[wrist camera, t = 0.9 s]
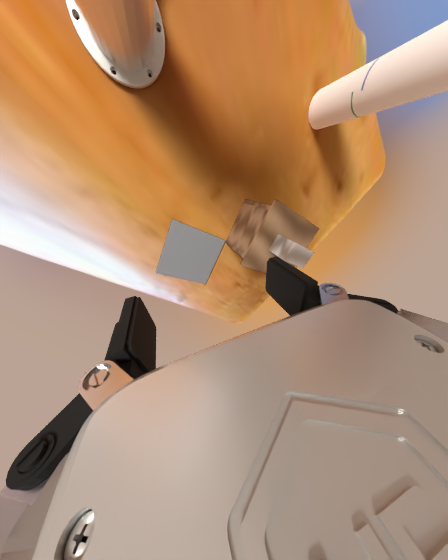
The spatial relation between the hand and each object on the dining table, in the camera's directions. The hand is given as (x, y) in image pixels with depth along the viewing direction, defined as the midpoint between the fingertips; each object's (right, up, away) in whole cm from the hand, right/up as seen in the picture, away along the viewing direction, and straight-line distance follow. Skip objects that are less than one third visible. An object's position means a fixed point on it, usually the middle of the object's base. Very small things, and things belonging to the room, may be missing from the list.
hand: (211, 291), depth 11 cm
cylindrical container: (+25, +43, +28) cm, 57 cm away
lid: (+14, +9, +27) cm, 32 cm away
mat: (-9, +8, +36) cm, 38 cm away
